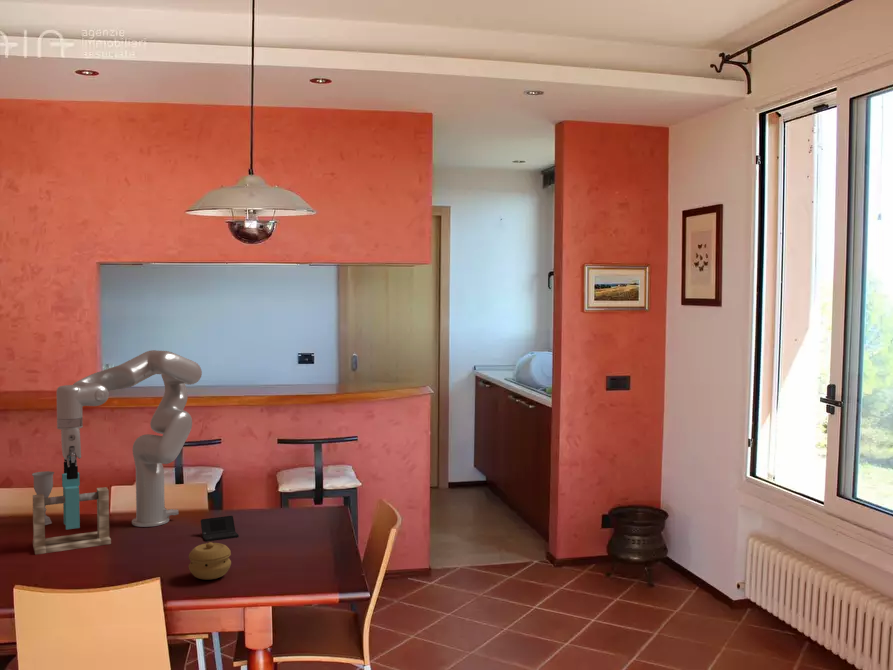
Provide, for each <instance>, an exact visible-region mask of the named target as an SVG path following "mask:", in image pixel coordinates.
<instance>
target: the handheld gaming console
mask: <svg viewBox="0 0 893 670" xmlns="http://www.w3.org/2000/svg"><path fill="white" fill-rule="evenodd" d="M200 525H201V526H200V527H201V533H202V534H201V535H202V538H203V540H204V541H205V542H206V543H208V542H214V541H221V540H228V539H235V538H239V536H240V535H239V534H238V532H237V531H236V526H235V521H234V516H233V515H226V516H217V517H216V516H215V517H211V518H201V519H200Z"/></svg>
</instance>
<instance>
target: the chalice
mask: <svg viewBox="0 0 893 670" xmlns="http://www.w3.org/2000/svg"><path fill="white" fill-rule="evenodd" d="M54 474H55V472H54V471H49V470H48V471H36V472H33V473H32V474H31V475H32V478H33V489H34V492H35V495H38V494H43V495H44V498H48V497H50V496H51V493H52V489H53V487H54ZM46 506H47V505H44V513H45V526H47V525H51V524H53V522H52V520H51V517H50V516H48V515H47V514H46V512H47V507H46Z"/></svg>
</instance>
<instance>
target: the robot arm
mask: <svg viewBox="0 0 893 670" xmlns="http://www.w3.org/2000/svg"><path fill="white" fill-rule="evenodd" d="M202 374H203V371H202V368H201V365H199V363H197V362H196V361H194V360H191V359H189V358H187V357H184V356H182V355H180V354H177V353H175V352H172V351H169V350H156V349H155V350H152V349H151V350H148V351H145V352H143V353H141V354H139V355H137V356H135V357H133V358H130V359H128V360H127V361H125V362H123V363H121V364H119V365H116V366H112V367H110V368H109V367H108V368H107V369H103V370H100V371H97V372H95V373H92V374H89V375H87V376H85V377H83V378H81V379H79V380H76V381H75V382H74V383H73V384H65V385H60V386H58V387H57V388H56V429H57V430H61V431H60V434H61V436H60V437H61V439H60V440H61V453H62V454H61V455H62V457H63V458H64V459H63V474H65V473H67V479H68V480H69V479H77V478H78V472H79V470H78V469H79V467H78V459H81V458H82V450H81V449H82V447H81V446H82V445H81V430H80V429H82V428H83V427H84V426H83V425H84V422H83V419H84V418H83V413H84V412H83V407H86V406H87V407H98V406H102V405H103V404H105V403H107V401H108V400H109V397H110V392H109V391H115V390H123V389H128V388H131V387H134V386H136V385H137V384H139V383H142V382H143V381H145V380H147V379H148V378H151V377H152V376H155V375H160V376H161V378H162V381H163V384H164V394H163V396H162V398H161V401H160V402H159V404H158V405H157V408H156V409H155V411H154V414H153V415H152V418H151V419H150V423H149V424H150V425H149V426H150V428H151V430H152V431H153V432H155V433H157V434H160V435H157V434H142V435H140V436H139V437H137V438H136V439H135V440H134V442H133V445H132V456H133V460H134V465H135V497H136V498H135V501H136V503H135V504H136V508H135V509H136V510H135V511H136V513H135V514H136V515H135V516H136V517H134V518H133V519H132V520H131V525H132V526H134V527H141V528H143V527H144V528H148V527H150V528H151V527H157V526H161V525H165V524H168V522H170V516H178V515H179V509H178V508H177V509H176V508H175V509H174V508H171V509H167V508H166V507H165V505H166V504H165V501H166V500H165V470H164V469H165V468H164V465H168V464H172V462H174V461H175V460H176V459H177V457H178V456H179V454H180V453H181V451H182V449H183V447H184V446H185V443H186V441H187V439H188V438H189V436H190V433H191V431H192V427H193V418H192V415H191V414H190V413H189V412H188V411H186V410H184V409H185V407H186V405H187V402H188V396H189V395H188V389H187V385H195V384H197V383H198V382H200V380H201V378H202Z"/></svg>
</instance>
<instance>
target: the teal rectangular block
mask: <svg viewBox="0 0 893 670" xmlns="http://www.w3.org/2000/svg"><path fill="white" fill-rule="evenodd" d="M80 475H81V473H80V472H79V471H78V478H77V479H69V480H68V479H67V473H65V474H64V473H61V486H62V494H63V495H62V496H65V503H62V505H63V506H62V507H63V525H64V526H65V530H72V529H80V528H81V526H80V525H81V524H80V523H81V520H80V519H81V518H80V517H81V516H80V515H81V514H80V501H79V494H80V486H81V485H80V484H81V483H80V481H81V480H80Z"/></svg>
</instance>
